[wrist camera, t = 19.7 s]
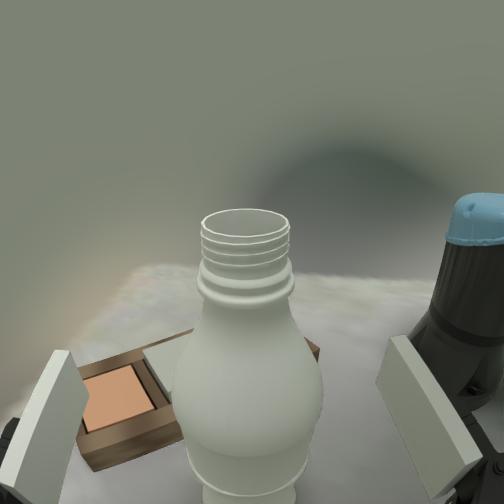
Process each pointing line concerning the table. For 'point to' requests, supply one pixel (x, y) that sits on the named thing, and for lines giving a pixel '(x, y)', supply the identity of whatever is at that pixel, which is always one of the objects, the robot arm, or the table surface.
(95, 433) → the keypad
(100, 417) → the orange square block
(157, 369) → the key middle
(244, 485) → the water bottle
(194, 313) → the table surface
